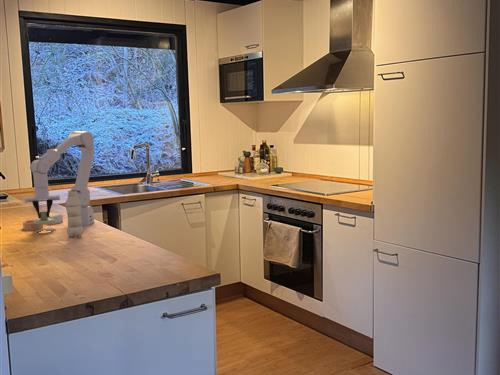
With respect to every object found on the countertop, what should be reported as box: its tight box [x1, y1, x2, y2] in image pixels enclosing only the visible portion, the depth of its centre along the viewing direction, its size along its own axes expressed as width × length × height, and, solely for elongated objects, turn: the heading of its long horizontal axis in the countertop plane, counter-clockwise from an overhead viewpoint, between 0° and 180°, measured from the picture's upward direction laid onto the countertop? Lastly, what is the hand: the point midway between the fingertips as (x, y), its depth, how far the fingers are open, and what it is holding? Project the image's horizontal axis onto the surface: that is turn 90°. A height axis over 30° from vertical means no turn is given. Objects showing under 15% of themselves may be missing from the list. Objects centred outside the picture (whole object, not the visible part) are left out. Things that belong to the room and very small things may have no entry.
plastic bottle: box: [64, 189, 84, 238], centre depth 222 cm, size 6×7×20 cm
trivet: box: [32, 228, 57, 234], centre depth 234 cm, size 10×10×1 cm
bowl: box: [22, 219, 44, 231], centre depth 241 cm, size 8×8×4 cm
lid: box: [32, 210, 55, 225], centre depth 233 cm, size 9×9×5 cm
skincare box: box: [47, 211, 64, 225], centre depth 254 cm, size 6×4×12 cm
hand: (43, 217), depth 233 cm, fingers closed on lid, 3 cm apart
